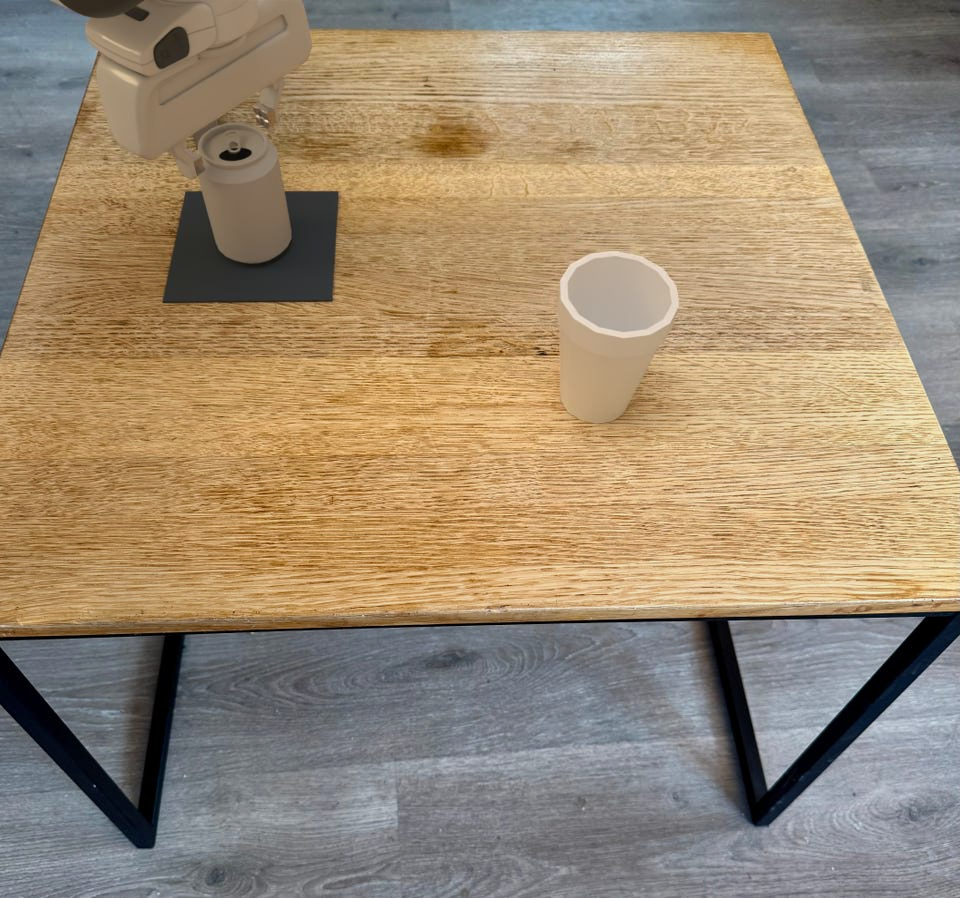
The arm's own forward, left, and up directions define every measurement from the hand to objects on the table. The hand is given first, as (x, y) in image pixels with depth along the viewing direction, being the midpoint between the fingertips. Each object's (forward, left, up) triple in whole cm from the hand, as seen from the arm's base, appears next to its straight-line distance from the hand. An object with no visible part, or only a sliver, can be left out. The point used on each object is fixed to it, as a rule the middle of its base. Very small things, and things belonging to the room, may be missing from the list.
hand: (231, 147), depth 79 cm
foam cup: (+32, -20, -12) cm, 40 cm away
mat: (0, 0, -11) cm, 11 cm away
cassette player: (-8, +23, -12) cm, 27 cm away
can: (0, 0, -11) cm, 11 cm away
